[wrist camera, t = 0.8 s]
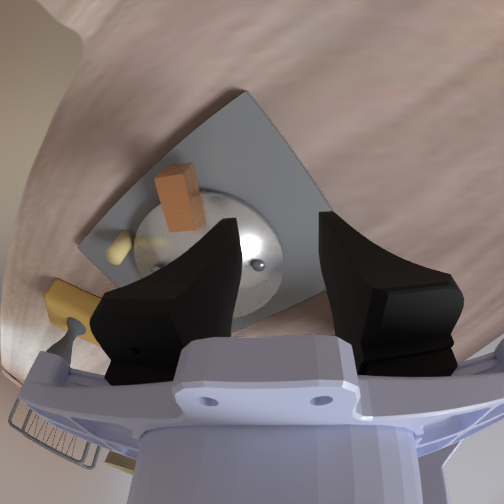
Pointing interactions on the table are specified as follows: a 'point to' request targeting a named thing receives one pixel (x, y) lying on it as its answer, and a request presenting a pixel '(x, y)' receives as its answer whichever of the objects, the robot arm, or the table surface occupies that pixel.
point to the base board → (235, 184)
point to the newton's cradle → (78, 462)
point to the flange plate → (198, 224)
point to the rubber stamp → (70, 315)
